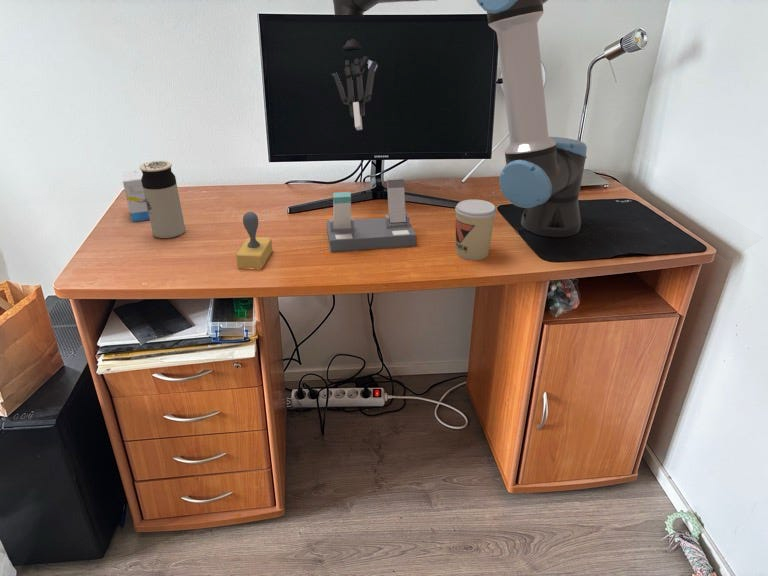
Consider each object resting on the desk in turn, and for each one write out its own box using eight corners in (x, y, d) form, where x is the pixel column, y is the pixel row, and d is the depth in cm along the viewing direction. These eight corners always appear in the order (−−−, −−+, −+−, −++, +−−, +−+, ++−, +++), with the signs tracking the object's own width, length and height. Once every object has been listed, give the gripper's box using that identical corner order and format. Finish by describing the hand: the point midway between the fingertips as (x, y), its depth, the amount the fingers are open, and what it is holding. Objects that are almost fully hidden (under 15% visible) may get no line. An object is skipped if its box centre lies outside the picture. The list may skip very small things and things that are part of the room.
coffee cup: (446, 248, 138) (448, 201, 132) (479, 242, 141) (483, 196, 135) (463, 264, 130) (467, 216, 124) (499, 258, 133) (504, 210, 127)
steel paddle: (389, 223, 142) (386, 180, 140) (404, 222, 143) (402, 179, 141) (390, 224, 140) (387, 180, 139) (405, 222, 141) (403, 179, 139)
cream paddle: (333, 224, 140) (333, 192, 132) (349, 223, 141) (350, 191, 132) (334, 228, 139) (333, 197, 131) (350, 227, 140) (351, 196, 131)
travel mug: (185, 225, 150) (172, 159, 142) (185, 236, 144) (172, 168, 135) (153, 228, 148) (139, 161, 139) (152, 240, 142) (137, 171, 133)
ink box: (164, 218, 155) (156, 177, 149) (131, 222, 152) (121, 181, 146) (163, 207, 162) (155, 168, 156) (131, 211, 159) (122, 171, 153)
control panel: (326, 232, 146) (325, 211, 144) (406, 226, 149) (406, 206, 146) (330, 251, 136) (329, 230, 133) (415, 245, 139) (416, 224, 136)
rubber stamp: (249, 250, 137) (243, 203, 131) (272, 250, 137) (267, 204, 131) (237, 269, 129) (230, 220, 123) (262, 269, 128) (256, 221, 122)
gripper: (377, 43, 151) (385, 129, 150) (330, 50, 153) (337, 135, 152) (373, 29, 144) (381, 120, 143) (323, 37, 146) (331, 127, 144)
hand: (358, 128), depth 147 cm, fingers closed
